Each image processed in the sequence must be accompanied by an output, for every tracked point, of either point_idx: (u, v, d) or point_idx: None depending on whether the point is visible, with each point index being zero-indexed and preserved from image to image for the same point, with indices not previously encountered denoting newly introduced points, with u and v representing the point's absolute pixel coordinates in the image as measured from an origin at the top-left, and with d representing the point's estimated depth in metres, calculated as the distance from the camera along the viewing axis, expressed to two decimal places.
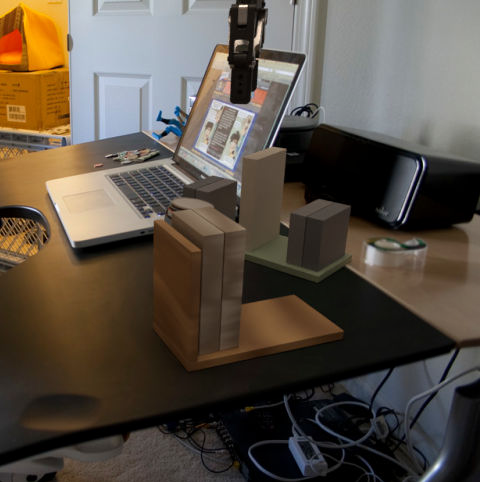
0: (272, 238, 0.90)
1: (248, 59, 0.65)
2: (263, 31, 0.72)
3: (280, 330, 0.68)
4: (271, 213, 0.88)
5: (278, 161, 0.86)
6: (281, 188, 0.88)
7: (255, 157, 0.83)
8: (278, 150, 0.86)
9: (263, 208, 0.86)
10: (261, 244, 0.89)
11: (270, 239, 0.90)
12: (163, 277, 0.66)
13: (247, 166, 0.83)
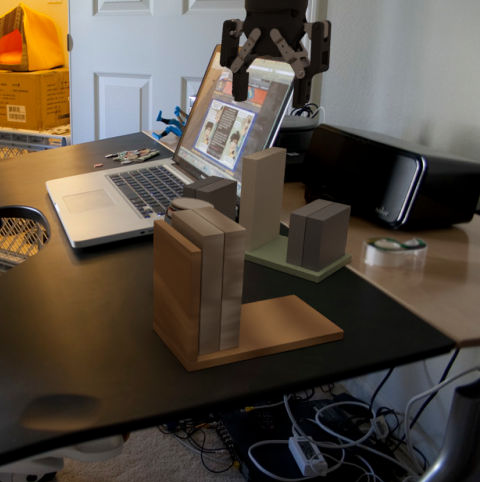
0: (272, 238, 0.90)
1: (327, 67, 0.76)
2: None
3: (280, 330, 0.68)
4: (271, 213, 0.88)
5: (278, 161, 0.86)
6: (281, 188, 0.88)
7: (255, 157, 0.83)
8: (278, 150, 0.86)
9: (263, 208, 0.86)
10: (261, 244, 0.89)
11: (270, 239, 0.90)
12: (163, 277, 0.66)
13: (247, 166, 0.83)
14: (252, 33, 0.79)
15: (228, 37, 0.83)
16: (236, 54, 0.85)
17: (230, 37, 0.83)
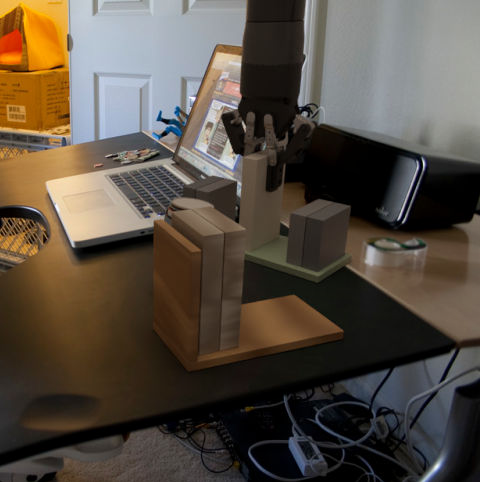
0: (272, 238, 0.90)
1: (296, 158, 0.83)
2: None
3: (280, 330, 0.68)
4: (271, 214, 0.88)
5: None
6: (281, 188, 0.88)
7: (255, 157, 0.83)
8: None
9: (263, 208, 0.86)
10: (261, 244, 0.88)
11: (270, 239, 0.90)
12: (163, 277, 0.66)
13: (247, 166, 0.83)
14: (247, 118, 0.83)
15: (231, 127, 0.86)
16: None
17: (233, 126, 0.87)
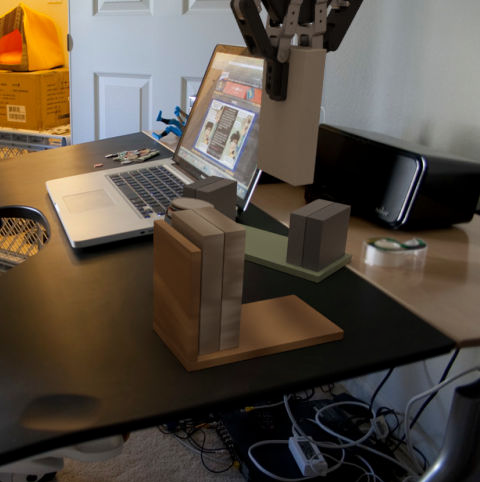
0: None
1: None
2: None
3: (280, 330, 0.68)
4: None
5: None
6: None
7: (314, 49, 0.59)
8: None
9: None
10: None
11: None
12: (163, 277, 0.66)
13: (312, 63, 0.59)
14: None
15: (258, 16, 0.58)
16: None
17: None
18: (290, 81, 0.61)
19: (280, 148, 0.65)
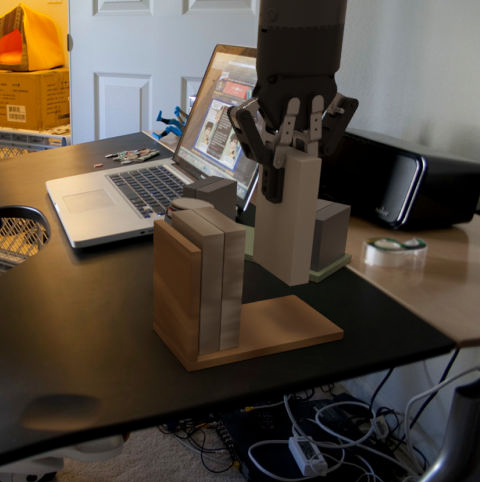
0: None
1: None
2: None
3: (280, 330, 0.68)
4: None
5: None
6: None
7: (309, 157, 0.60)
8: None
9: None
10: None
11: None
12: (163, 277, 0.66)
13: (308, 172, 0.60)
14: (289, 108, 0.59)
15: (255, 127, 0.59)
16: None
17: None
18: (286, 186, 0.62)
19: (276, 246, 0.65)
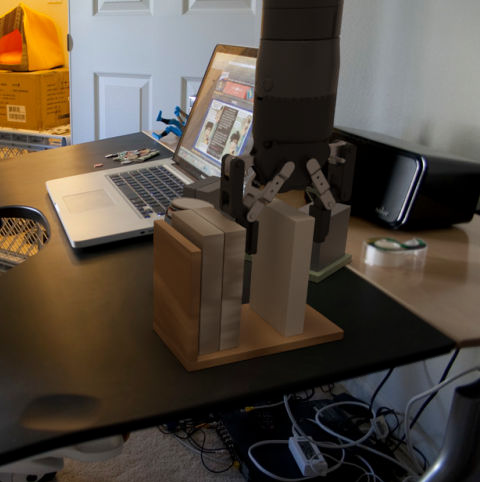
0: None
1: None
2: None
3: None
4: None
5: None
6: None
7: (303, 216, 0.62)
8: (278, 201, 0.67)
9: None
10: None
11: None
12: (163, 277, 0.66)
13: (302, 230, 0.62)
14: (284, 169, 0.61)
15: (242, 180, 0.61)
16: None
17: None
18: (280, 242, 0.64)
19: (271, 298, 0.68)
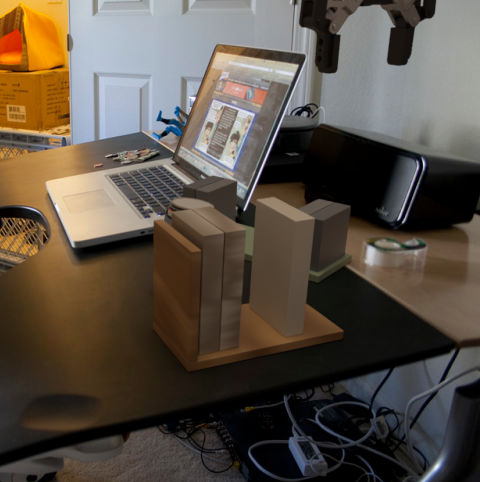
0: None
1: None
2: None
3: None
4: None
5: None
6: None
7: (303, 216, 0.62)
8: (278, 201, 0.67)
9: None
10: None
11: None
12: (163, 277, 0.66)
13: (302, 230, 0.62)
14: None
15: None
16: (312, 11, 0.62)
17: None
18: (280, 242, 0.64)
19: (271, 298, 0.68)
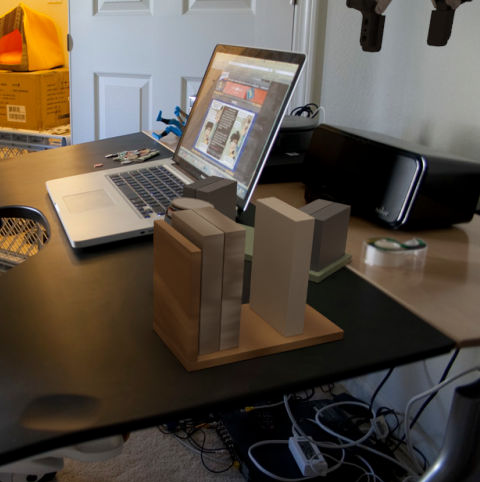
0: None
1: None
2: None
3: None
4: None
5: None
6: None
7: (303, 216, 0.62)
8: (278, 201, 0.67)
9: None
10: None
11: None
12: (163, 277, 0.66)
13: (302, 230, 0.62)
14: None
15: None
16: None
17: None
18: (280, 242, 0.64)
19: (271, 298, 0.68)
